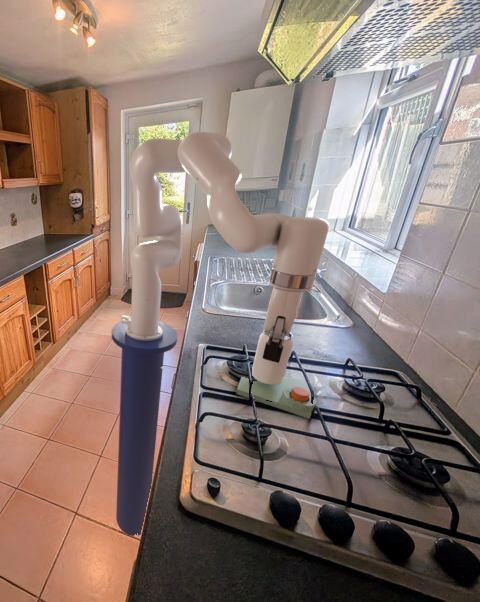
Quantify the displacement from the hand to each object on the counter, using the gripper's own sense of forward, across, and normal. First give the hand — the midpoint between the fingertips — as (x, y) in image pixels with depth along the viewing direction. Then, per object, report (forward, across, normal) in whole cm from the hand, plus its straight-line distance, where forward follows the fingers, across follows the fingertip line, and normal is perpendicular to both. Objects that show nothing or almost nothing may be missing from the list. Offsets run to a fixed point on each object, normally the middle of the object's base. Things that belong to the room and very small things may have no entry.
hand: (272, 352), depth 69 cm
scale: (+9, +1, +2) cm, 10 cm away
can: (+7, 0, 0) cm, 7 cm away
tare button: (+7, +5, +7) cm, 10 cm away
